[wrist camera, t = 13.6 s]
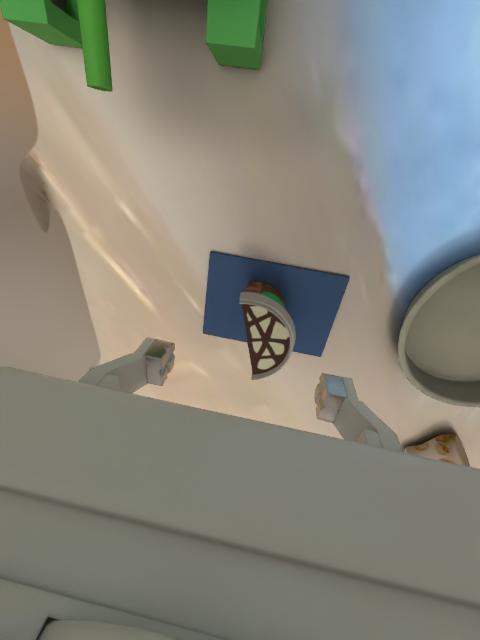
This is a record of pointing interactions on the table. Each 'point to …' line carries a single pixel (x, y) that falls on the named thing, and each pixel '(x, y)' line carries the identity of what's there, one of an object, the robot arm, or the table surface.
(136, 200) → the table surface
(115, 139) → the table surface
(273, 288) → the food container
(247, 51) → the tank
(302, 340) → the mat
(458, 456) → the mug
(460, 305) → the cake pan
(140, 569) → the robot arm
